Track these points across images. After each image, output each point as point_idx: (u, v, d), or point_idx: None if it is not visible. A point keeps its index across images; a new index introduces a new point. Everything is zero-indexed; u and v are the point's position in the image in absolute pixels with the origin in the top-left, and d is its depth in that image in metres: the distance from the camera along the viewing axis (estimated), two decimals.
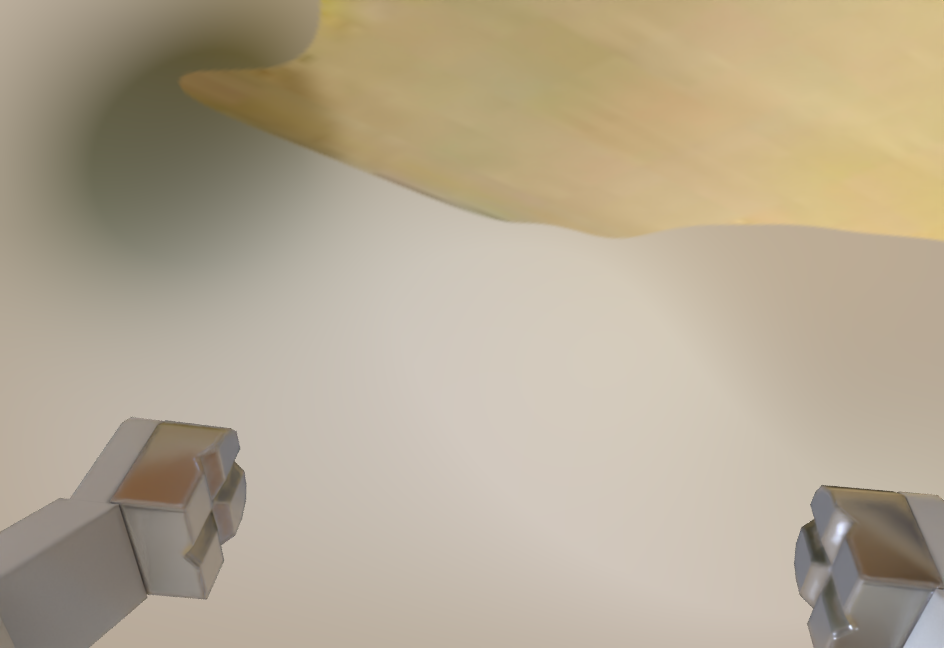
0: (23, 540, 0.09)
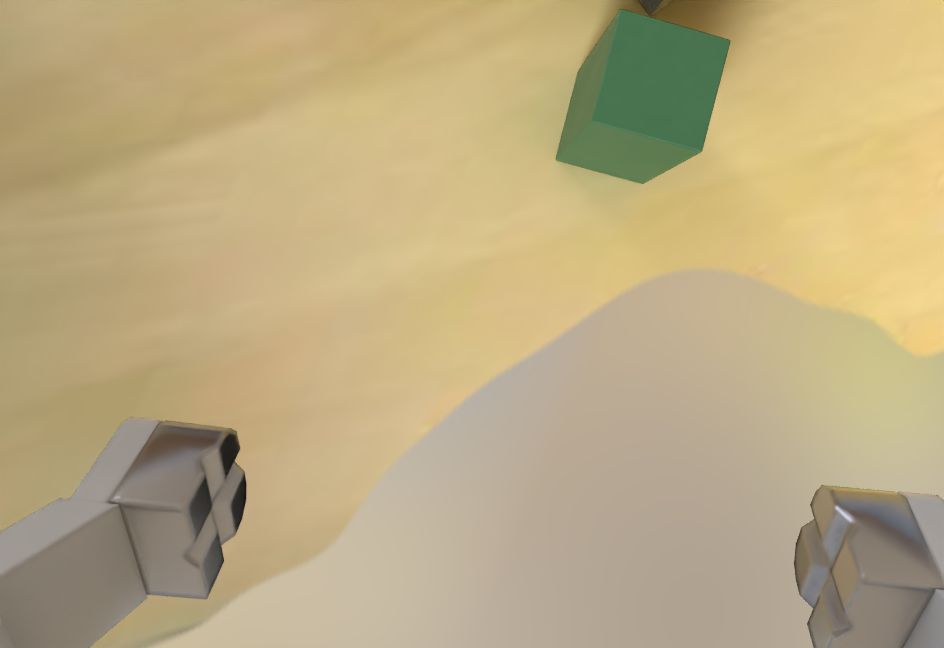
0: (23, 540, 0.09)
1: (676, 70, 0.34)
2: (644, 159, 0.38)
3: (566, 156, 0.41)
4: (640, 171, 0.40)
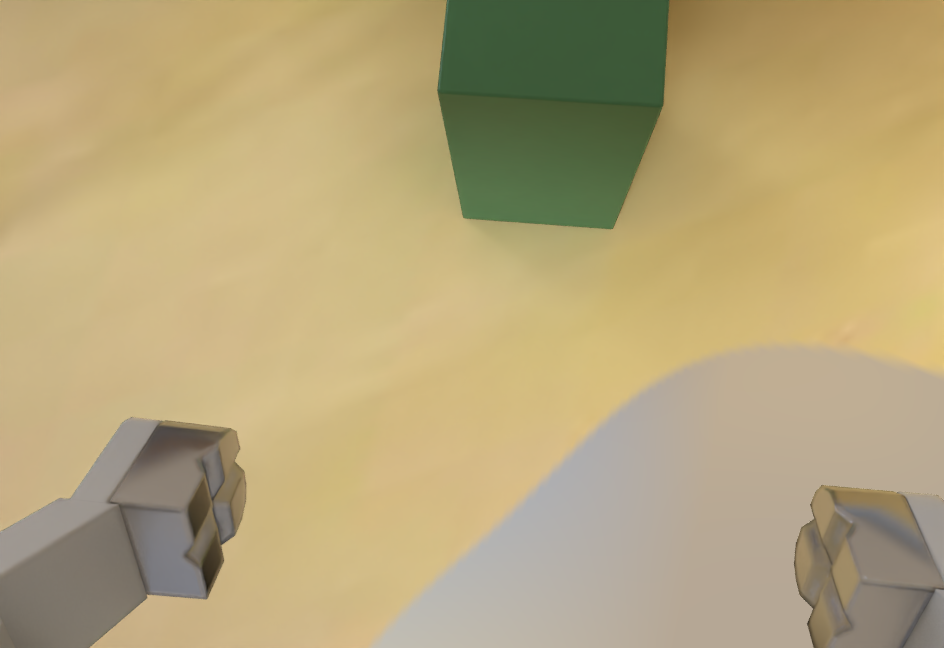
0: (23, 540, 0.09)
1: None
2: (581, 167, 0.21)
3: (470, 203, 0.25)
4: (592, 200, 0.23)
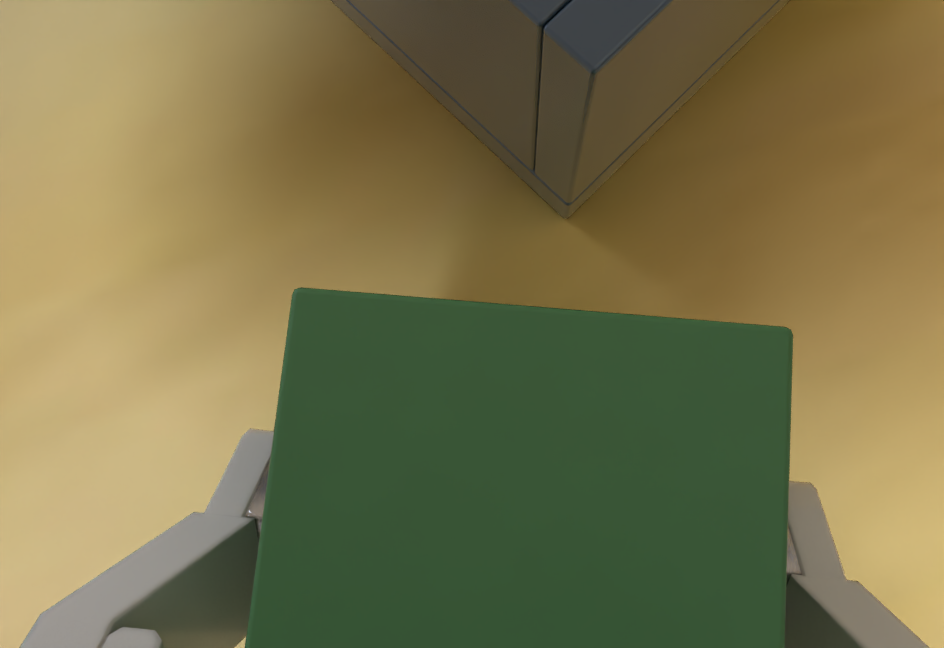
0: (166, 555, 0.09)
1: (577, 505, 0.07)
2: None
3: None
4: None
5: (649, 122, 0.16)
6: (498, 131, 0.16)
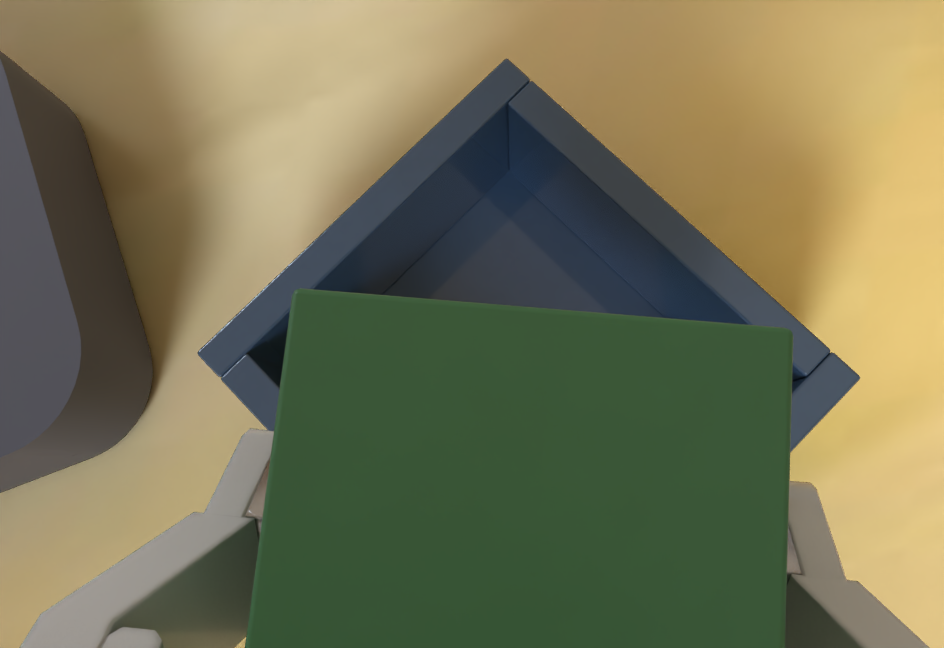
0: (166, 556, 0.09)
1: (578, 506, 0.07)
2: None
3: None
4: None
5: None
6: None
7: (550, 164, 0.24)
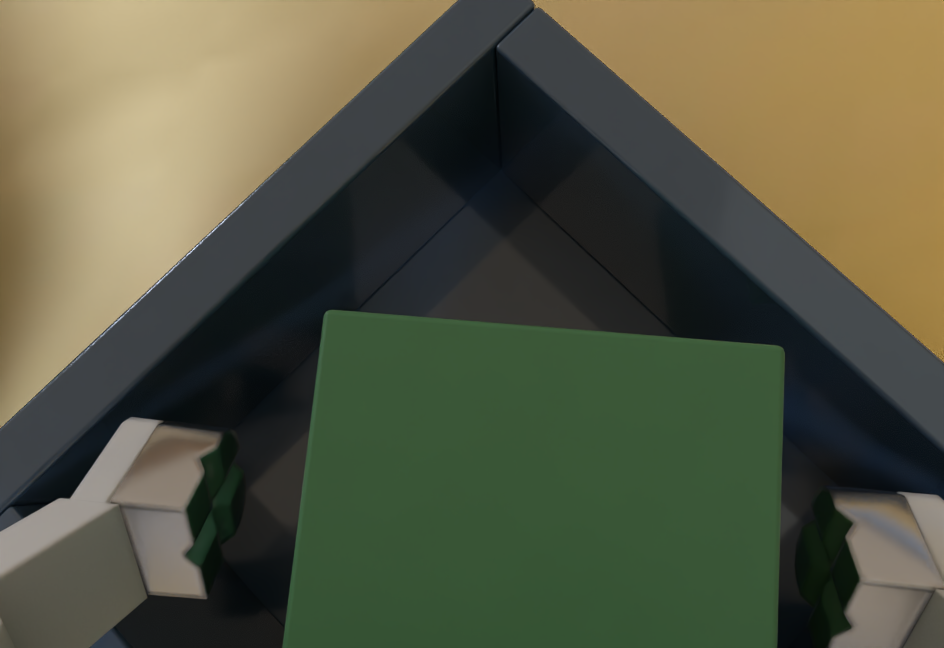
0: (23, 540, 0.09)
1: (587, 509, 0.08)
2: None
3: None
4: None
5: None
6: None
7: (569, 156, 0.14)
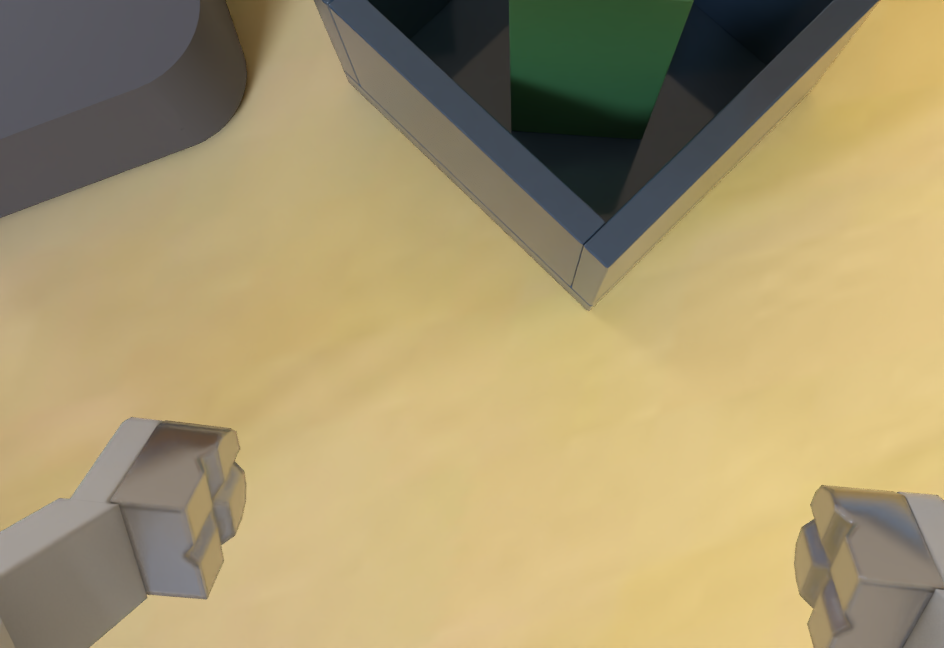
0: (23, 540, 0.09)
1: None
2: (620, 68, 0.25)
3: (520, 113, 0.29)
4: (626, 106, 0.27)
5: (636, 260, 0.29)
6: (551, 265, 0.29)
7: None
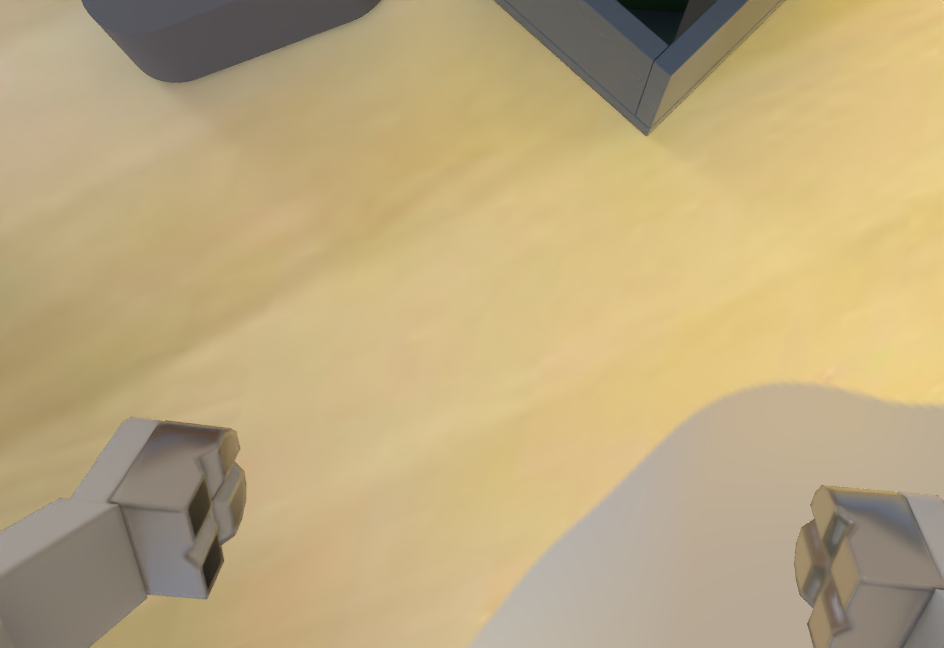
0: (23, 540, 0.09)
1: None
2: None
3: None
4: None
5: (682, 95, 0.40)
6: (621, 98, 0.40)
7: None
